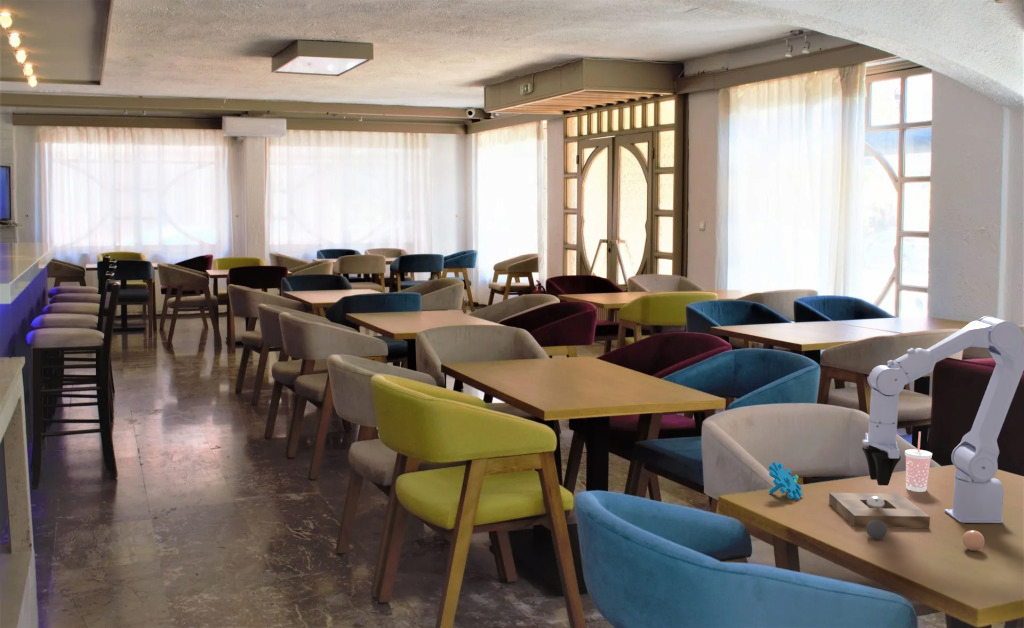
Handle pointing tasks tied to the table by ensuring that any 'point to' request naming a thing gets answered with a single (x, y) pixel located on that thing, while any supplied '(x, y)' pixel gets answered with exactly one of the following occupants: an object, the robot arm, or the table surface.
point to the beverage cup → (917, 468)
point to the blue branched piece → (784, 481)
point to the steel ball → (875, 502)
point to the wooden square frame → (879, 510)
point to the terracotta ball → (973, 540)
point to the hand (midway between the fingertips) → (879, 482)
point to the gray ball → (876, 529)
